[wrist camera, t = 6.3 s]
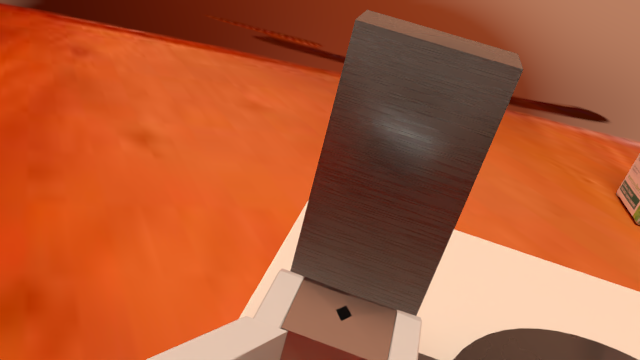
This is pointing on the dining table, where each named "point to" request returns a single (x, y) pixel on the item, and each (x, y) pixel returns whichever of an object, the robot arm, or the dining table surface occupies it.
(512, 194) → the dining table surface
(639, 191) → the syrup box
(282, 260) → the dial board
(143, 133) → the dining table surface
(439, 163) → the dial
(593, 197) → the dining table surface
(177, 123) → the dining table surface
